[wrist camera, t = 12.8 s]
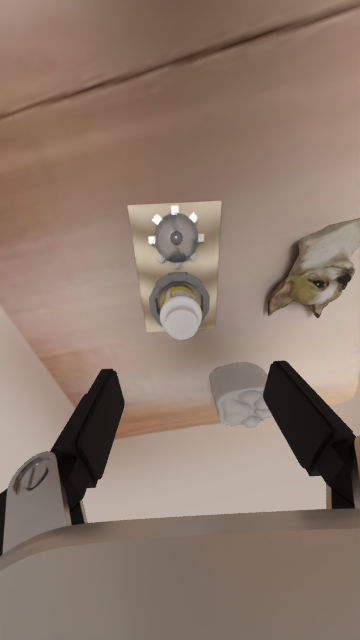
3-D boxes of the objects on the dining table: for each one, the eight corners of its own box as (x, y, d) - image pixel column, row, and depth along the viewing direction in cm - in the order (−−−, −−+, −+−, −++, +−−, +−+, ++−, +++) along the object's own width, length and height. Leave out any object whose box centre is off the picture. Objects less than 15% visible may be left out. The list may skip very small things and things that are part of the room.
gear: (146, 208, 22) (140, 201, 19) (203, 206, 22) (208, 198, 19) (152, 268, 26) (148, 272, 22) (202, 266, 26) (207, 269, 22)
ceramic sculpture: (429, 219, 17) (351, 335, 24) (352, 224, 25) (309, 311, 32) (334, 212, 17) (283, 332, 24) (285, 219, 24) (257, 308, 32)
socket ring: (148, 273, 26) (145, 275, 24) (207, 270, 26) (210, 272, 24) (154, 326, 30) (153, 332, 28) (206, 323, 30) (208, 329, 28)
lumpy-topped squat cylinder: (207, 368, 36) (216, 401, 29) (265, 357, 36) (290, 389, 28) (213, 399, 41) (222, 435, 33) (265, 390, 40) (287, 425, 32)
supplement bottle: (175, 319, 29) (174, 353, 20) (157, 294, 27) (147, 319, 18) (201, 303, 28) (214, 331, 19) (184, 276, 26) (189, 293, 17)
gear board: (130, 207, 23) (127, 205, 22) (218, 203, 23) (221, 200, 22) (147, 328, 32) (146, 332, 30) (213, 325, 32) (214, 328, 30)
